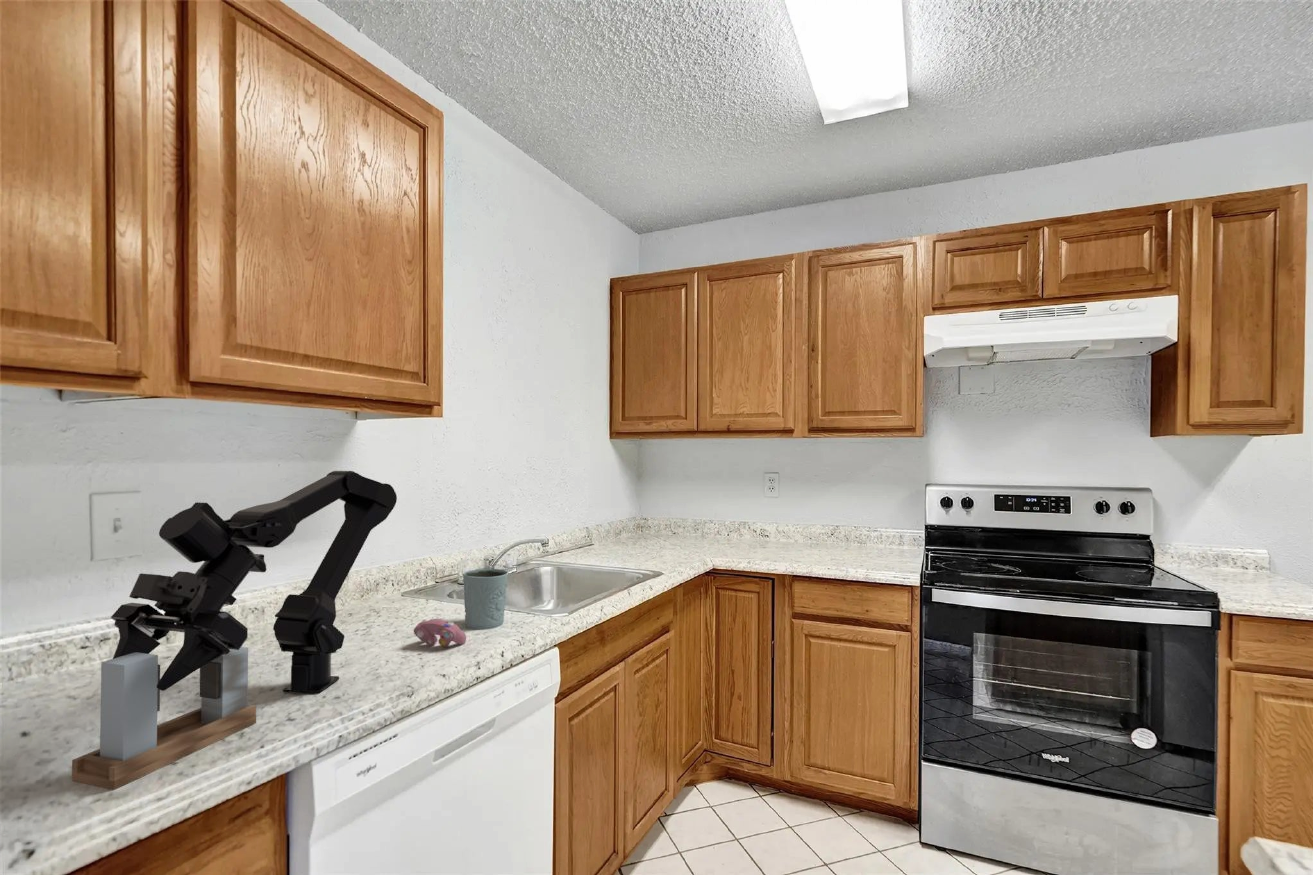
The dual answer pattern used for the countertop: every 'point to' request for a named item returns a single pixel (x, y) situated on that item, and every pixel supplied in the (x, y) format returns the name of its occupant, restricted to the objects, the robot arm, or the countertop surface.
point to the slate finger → (129, 705)
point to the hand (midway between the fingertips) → (133, 685)
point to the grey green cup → (484, 598)
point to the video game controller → (439, 632)
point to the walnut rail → (183, 726)
